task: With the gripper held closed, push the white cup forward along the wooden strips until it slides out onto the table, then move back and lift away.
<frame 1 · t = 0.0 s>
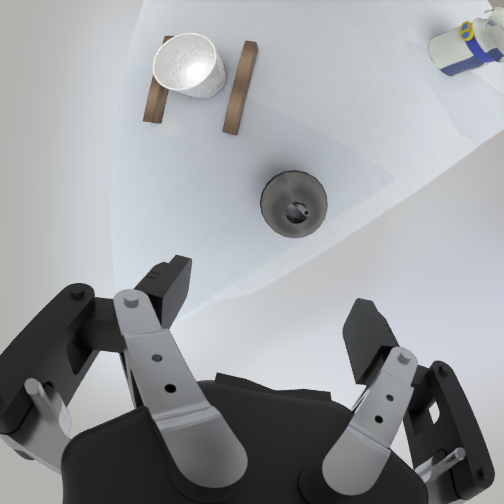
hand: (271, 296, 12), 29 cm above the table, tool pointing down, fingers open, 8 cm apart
water bottle: (444, 57, 27), on the table
beverage cup: (289, 187, 39), on the table
white cup: (204, 78, 34), on the table
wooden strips: (202, 84, 34), on the table
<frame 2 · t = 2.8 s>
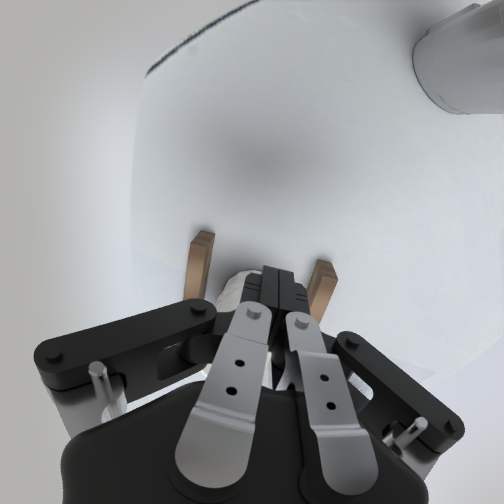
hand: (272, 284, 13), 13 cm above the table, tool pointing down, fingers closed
white cup: (253, 296, 30), on the table
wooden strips: (251, 304, 30), on the table
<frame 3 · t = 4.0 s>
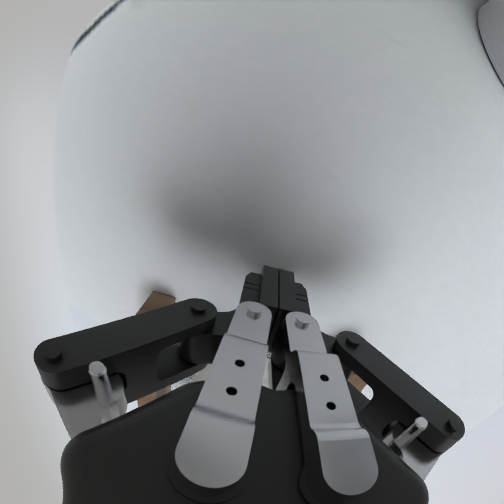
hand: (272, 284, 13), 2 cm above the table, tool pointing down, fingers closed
white cup: (240, 377, 19), on the table
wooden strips: (237, 387, 19), on the table
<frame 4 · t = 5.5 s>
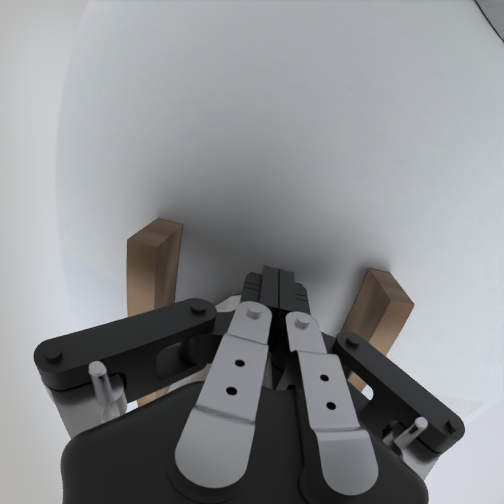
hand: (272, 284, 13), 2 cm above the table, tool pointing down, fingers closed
white cup: (255, 335, 17), on the table, touching gripper
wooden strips: (251, 345, 17), on the table
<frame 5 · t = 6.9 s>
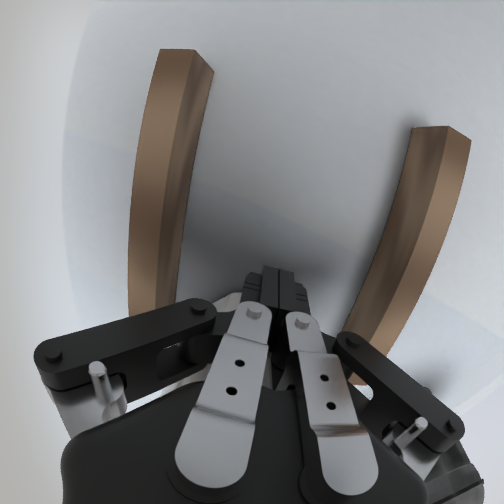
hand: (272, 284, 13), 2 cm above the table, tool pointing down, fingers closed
beverage cup: (408, 401, 19), on the table
white cup: (252, 333, 17), on the table, touching gripper
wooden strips: (286, 223, 14), on the table
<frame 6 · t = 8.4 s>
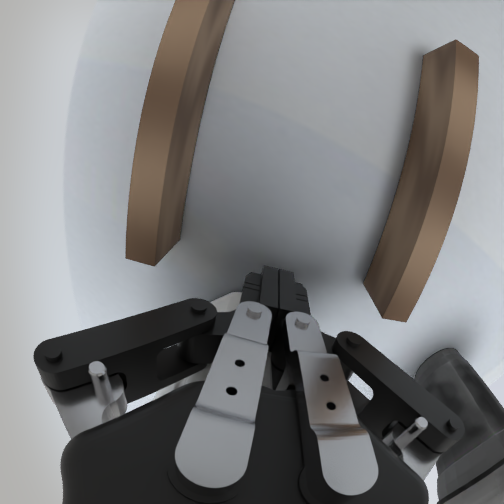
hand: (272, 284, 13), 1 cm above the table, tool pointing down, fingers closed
beverage cup: (436, 366, 17), on the table
white cup: (249, 333, 17), on the table, touching gripper
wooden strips: (309, 132, 12), on the table
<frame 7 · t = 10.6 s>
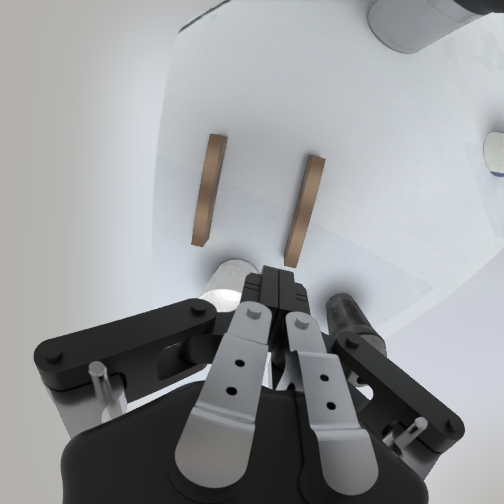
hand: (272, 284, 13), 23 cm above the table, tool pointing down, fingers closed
water bottle: (495, 155, 28), on the table
beverage cup: (340, 305, 40), on the table
white cup: (237, 279, 40), on the table
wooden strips: (256, 197, 35), on the table
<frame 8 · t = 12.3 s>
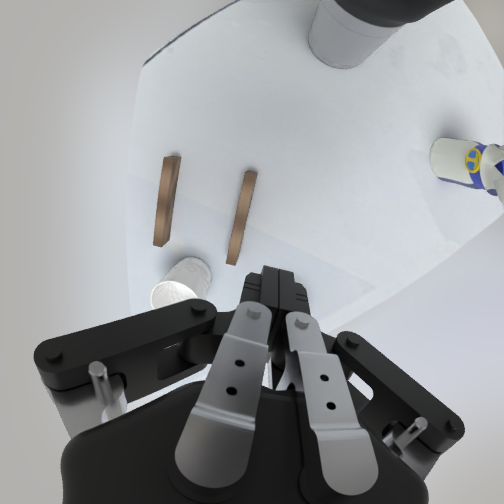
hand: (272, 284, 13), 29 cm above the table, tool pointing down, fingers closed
water bottle: (445, 160, 35), on the table
white cup: (193, 273, 47), on the table
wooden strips: (205, 206, 42), on the table
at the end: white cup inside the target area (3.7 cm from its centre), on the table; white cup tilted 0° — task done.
